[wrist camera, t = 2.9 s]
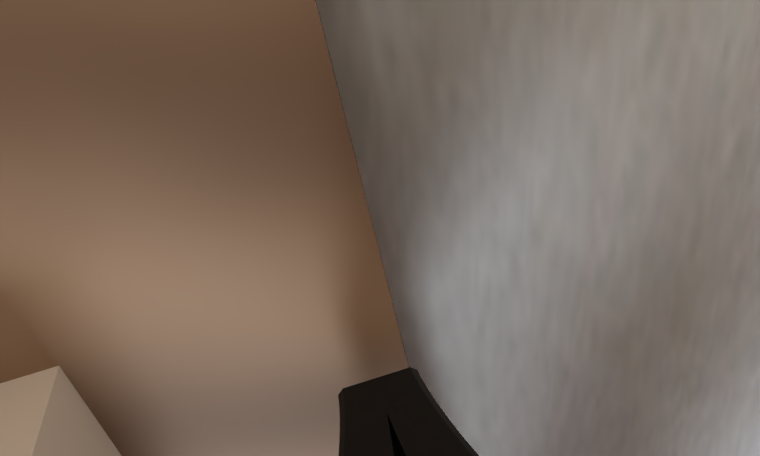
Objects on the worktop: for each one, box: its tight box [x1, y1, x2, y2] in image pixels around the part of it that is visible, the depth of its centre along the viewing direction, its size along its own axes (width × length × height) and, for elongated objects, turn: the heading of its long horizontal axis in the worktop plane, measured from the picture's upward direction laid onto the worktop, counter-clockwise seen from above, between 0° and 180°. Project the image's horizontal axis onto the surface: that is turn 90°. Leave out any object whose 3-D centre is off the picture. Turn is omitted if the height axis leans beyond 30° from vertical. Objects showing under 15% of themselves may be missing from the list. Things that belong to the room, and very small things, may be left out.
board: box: [0, 0, 409, 456], centre depth 12 cm, size 16×13×1 cm
